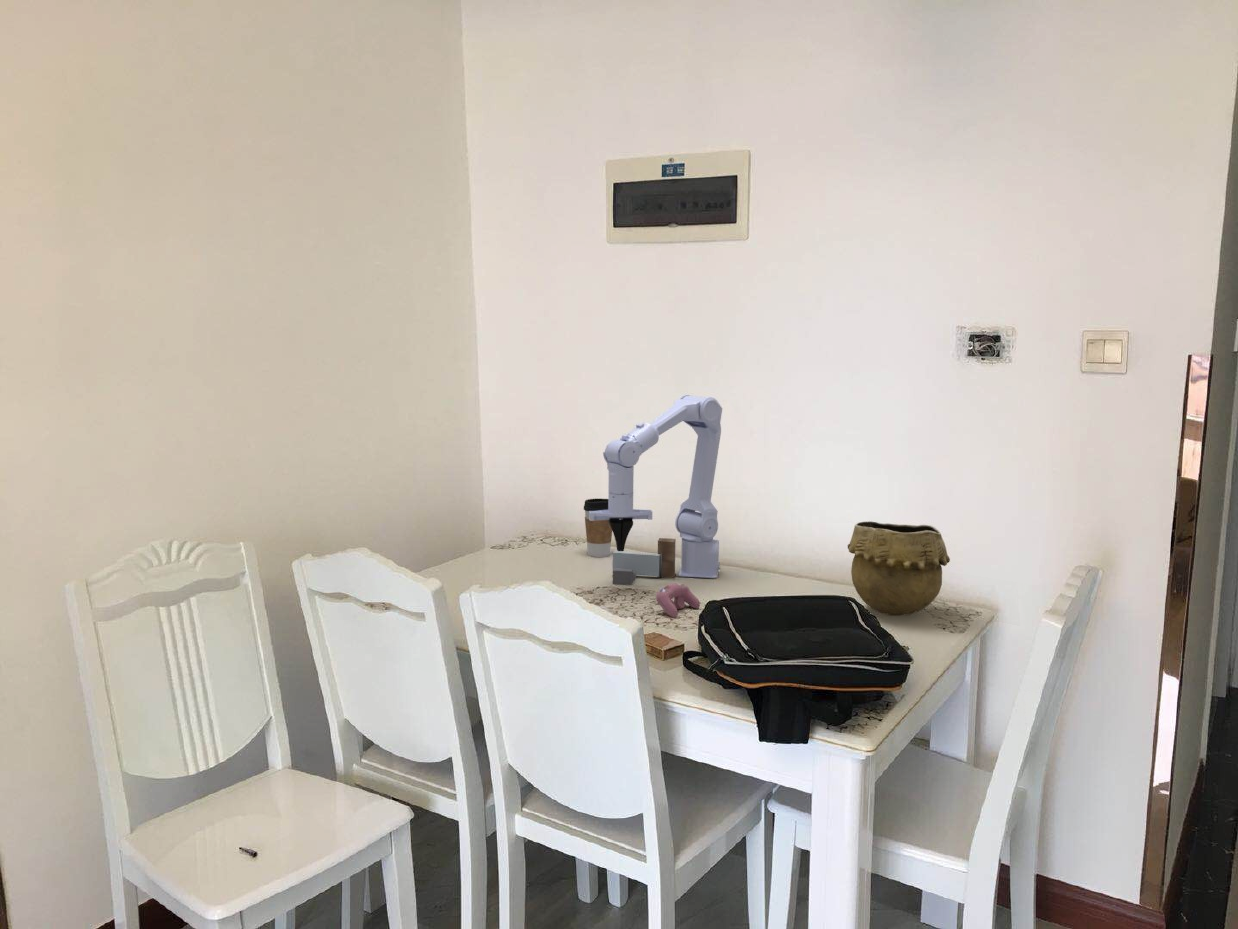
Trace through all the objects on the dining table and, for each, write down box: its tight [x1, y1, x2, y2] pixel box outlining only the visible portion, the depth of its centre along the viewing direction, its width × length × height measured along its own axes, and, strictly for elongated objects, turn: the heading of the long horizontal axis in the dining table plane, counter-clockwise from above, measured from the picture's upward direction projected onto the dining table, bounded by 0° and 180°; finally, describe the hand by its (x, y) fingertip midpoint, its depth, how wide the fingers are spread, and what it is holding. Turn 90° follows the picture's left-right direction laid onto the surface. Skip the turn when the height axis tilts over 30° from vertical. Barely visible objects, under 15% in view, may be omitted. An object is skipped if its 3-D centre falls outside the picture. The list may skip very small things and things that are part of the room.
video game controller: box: [655, 582, 701, 619], centre depth 208 cm, size 10×5×7 cm, turn 141°
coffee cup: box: [583, 498, 613, 558], centre depth 257 cm, size 8×8×15 cm
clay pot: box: [847, 520, 951, 617], centre depth 207 cm, size 21×21×20 cm
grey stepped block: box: [612, 568, 637, 586], centre depth 232 cm, size 4×7×4 cm, turn 169°
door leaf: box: [612, 550, 660, 578], centre depth 236 cm, size 12×2×5 cm, turn 76°
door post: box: [657, 537, 677, 579], centre depth 236 cm, size 4×5×9 cm
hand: (620, 550), depth 223 cm, fingers closed
